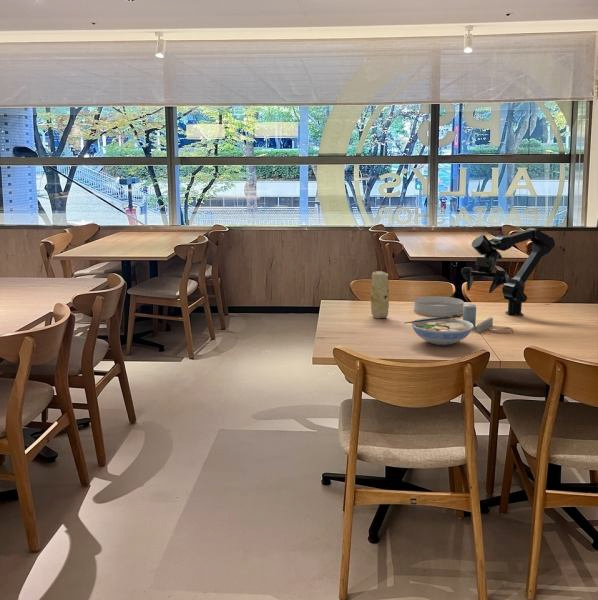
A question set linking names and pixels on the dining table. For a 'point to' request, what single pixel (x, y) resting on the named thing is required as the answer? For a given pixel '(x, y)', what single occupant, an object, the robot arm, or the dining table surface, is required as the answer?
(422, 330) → the ramen bowl
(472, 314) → the salt shaker
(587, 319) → the dining table surface
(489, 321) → the acrylic divider
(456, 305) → the dish
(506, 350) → the dining table surface
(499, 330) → the coaster
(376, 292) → the food model
